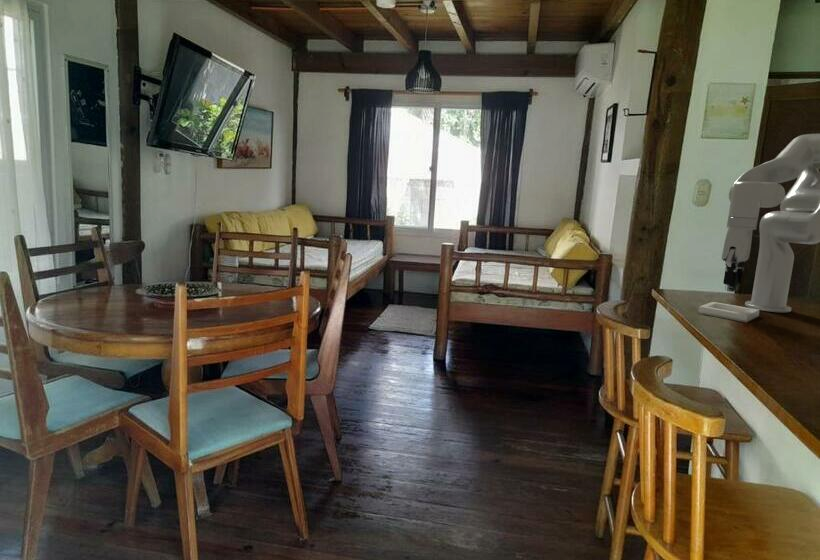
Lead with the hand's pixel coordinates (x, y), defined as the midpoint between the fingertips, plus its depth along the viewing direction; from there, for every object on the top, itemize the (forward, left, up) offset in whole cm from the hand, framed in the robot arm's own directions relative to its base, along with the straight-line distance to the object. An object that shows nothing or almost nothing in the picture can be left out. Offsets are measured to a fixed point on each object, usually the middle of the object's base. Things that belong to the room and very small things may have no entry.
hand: (732, 283), depth 159 cm
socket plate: (0, 0, -10) cm, 10 cm away
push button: (+1, 0, -3) cm, 3 cm away
